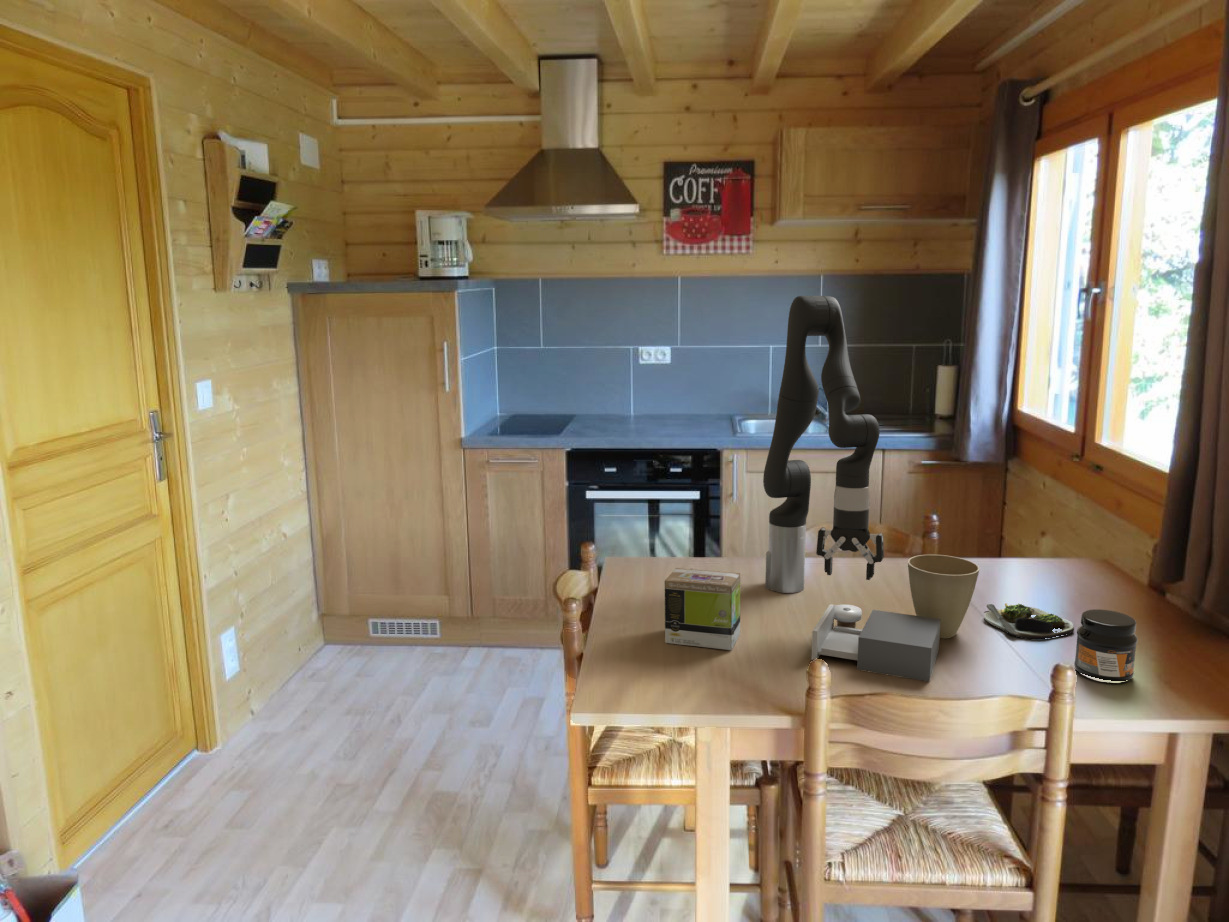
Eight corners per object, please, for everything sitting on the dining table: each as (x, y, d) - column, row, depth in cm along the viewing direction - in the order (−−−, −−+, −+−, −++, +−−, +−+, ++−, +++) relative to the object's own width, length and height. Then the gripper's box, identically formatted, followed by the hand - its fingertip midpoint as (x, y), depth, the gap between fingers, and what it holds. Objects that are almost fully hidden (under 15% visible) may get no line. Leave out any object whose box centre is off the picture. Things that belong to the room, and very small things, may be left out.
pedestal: (835, 633, 203) (835, 618, 203) (838, 627, 207) (839, 612, 206) (853, 636, 202) (854, 621, 201) (856, 630, 205) (857, 615, 205)
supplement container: (1107, 689, 174) (1113, 630, 172) (1061, 669, 184) (1066, 612, 182) (1145, 680, 179) (1152, 622, 176) (1098, 660, 188) (1103, 604, 186)
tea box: (740, 635, 203) (741, 571, 200) (731, 652, 194) (732, 586, 191) (675, 627, 208) (675, 565, 205) (663, 644, 199) (663, 579, 196)
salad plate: (959, 616, 214) (961, 597, 213) (1019, 606, 220) (1021, 588, 219) (1021, 646, 196) (1023, 626, 196) (1085, 634, 202) (1087, 615, 202)
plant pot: (940, 650, 194) (945, 578, 191) (889, 627, 207) (893, 560, 203) (989, 637, 200) (994, 568, 197) (937, 616, 213) (941, 550, 210)
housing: (857, 669, 184) (858, 637, 183) (871, 639, 200) (872, 609, 198) (929, 681, 179) (931, 648, 177) (938, 650, 194) (940, 619, 192)
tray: (811, 659, 188) (812, 630, 187) (828, 631, 203) (830, 604, 202) (880, 671, 182) (881, 641, 181) (892, 640, 198) (894, 613, 196)
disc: (829, 619, 202) (829, 611, 202) (835, 610, 208) (835, 602, 207) (858, 624, 199) (858, 615, 199) (863, 614, 205) (864, 606, 205)
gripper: (815, 506, 198) (813, 577, 201) (882, 512, 192) (879, 585, 195) (822, 499, 205) (820, 568, 208) (887, 504, 199) (884, 575, 202)
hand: (848, 576), depth 202 cm, fingers open, 8 cm apart
